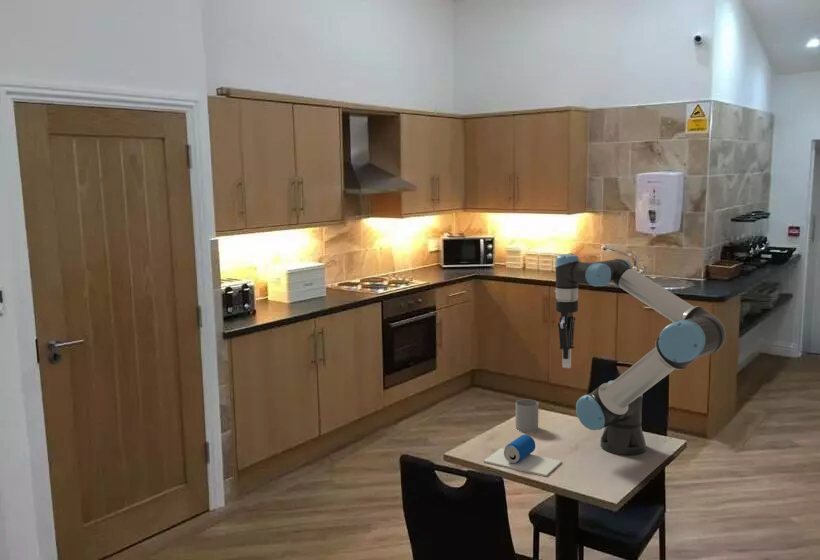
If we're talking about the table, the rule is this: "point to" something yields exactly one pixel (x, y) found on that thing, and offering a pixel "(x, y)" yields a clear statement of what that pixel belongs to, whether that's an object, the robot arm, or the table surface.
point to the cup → (526, 415)
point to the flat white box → (525, 463)
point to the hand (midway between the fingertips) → (566, 367)
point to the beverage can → (519, 448)
